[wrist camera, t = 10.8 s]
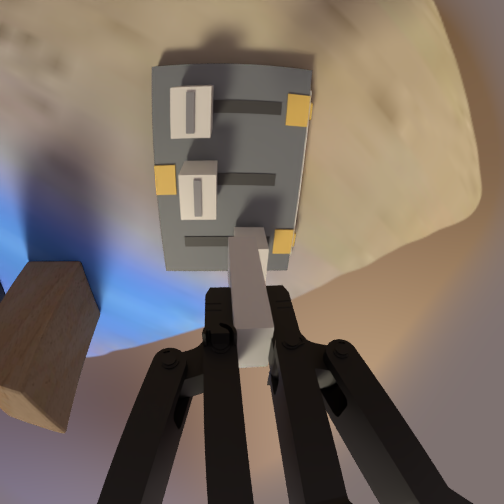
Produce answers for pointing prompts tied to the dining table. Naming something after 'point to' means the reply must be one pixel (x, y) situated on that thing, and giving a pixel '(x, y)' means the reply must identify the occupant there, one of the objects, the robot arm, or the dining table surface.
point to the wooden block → (45, 341)
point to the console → (234, 159)
